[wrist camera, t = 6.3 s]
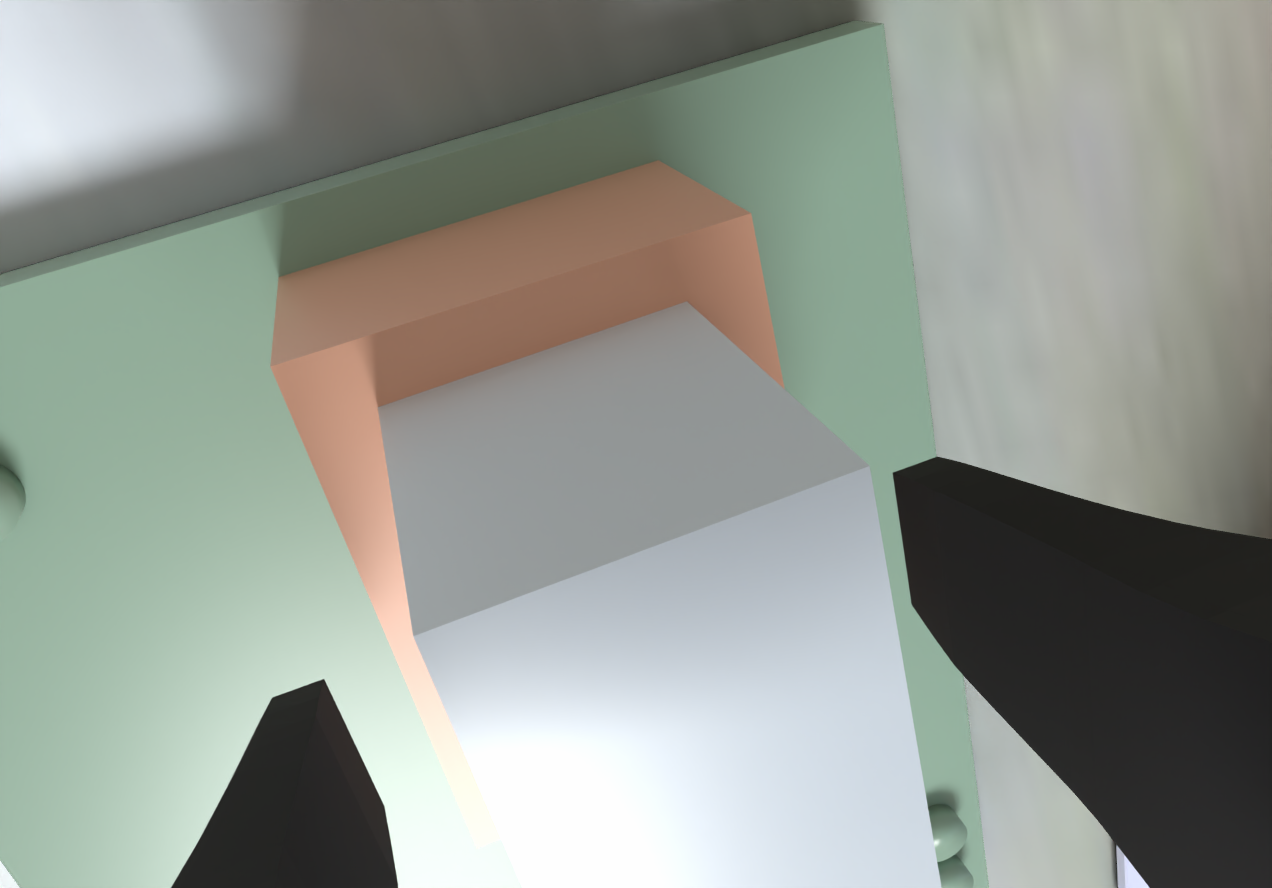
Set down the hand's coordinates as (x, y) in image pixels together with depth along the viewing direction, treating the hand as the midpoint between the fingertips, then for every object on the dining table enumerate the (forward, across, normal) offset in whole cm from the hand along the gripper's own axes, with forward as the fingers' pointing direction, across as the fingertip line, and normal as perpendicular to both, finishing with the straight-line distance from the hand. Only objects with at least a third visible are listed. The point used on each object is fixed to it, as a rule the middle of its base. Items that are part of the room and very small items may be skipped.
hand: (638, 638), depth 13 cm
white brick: (+2, 0, 0) cm, 2 cm away
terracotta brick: (+7, 0, 0) cm, 7 cm away
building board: (+7, +2, +5) cm, 9 cm away
